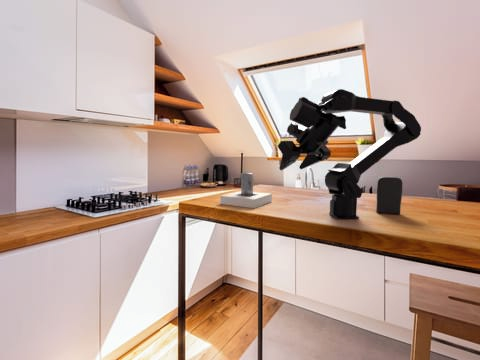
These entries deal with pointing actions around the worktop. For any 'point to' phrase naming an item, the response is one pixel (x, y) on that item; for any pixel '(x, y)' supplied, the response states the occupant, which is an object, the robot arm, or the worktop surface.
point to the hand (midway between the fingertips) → (290, 168)
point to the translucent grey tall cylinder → (247, 184)
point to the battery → (389, 195)
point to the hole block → (246, 199)
